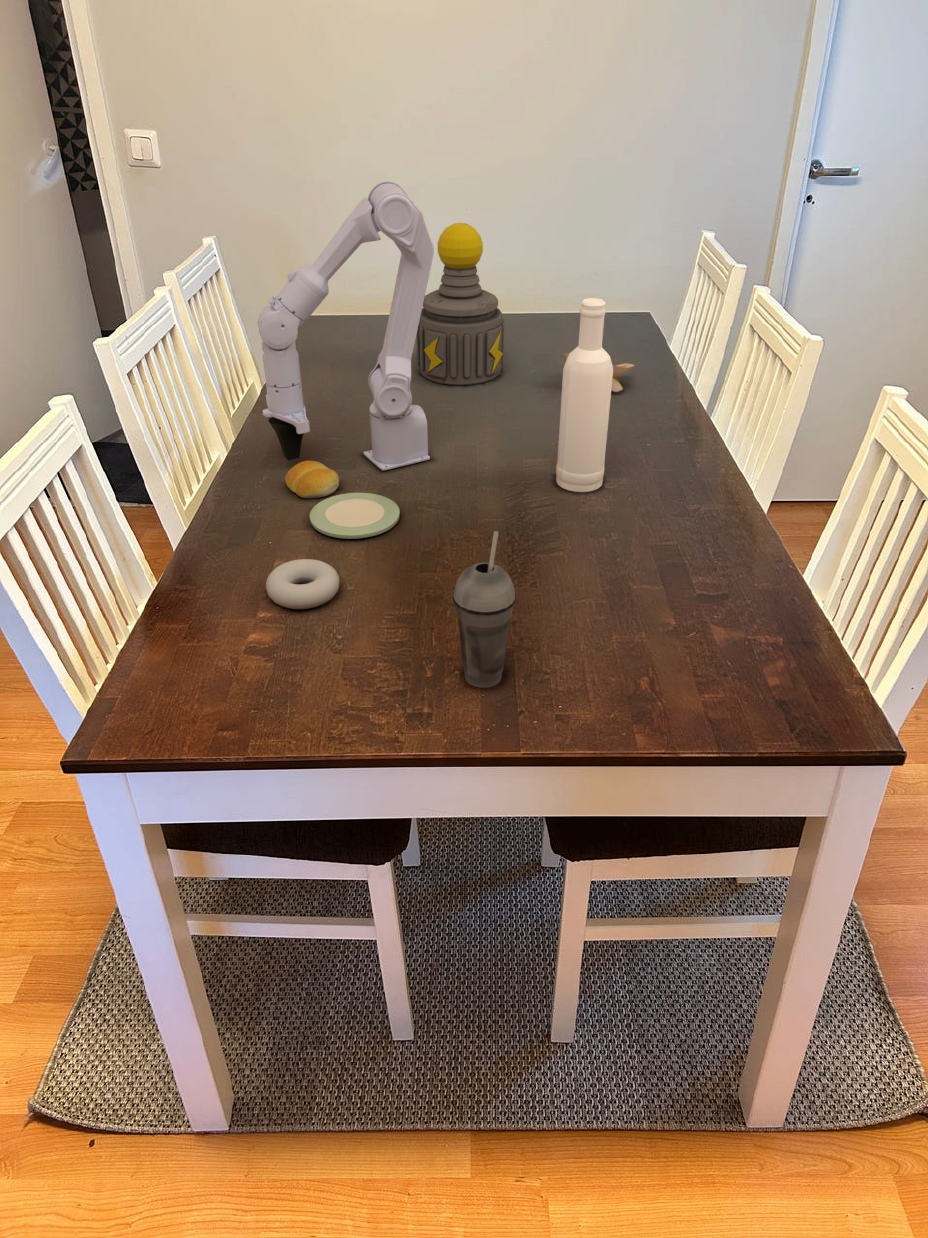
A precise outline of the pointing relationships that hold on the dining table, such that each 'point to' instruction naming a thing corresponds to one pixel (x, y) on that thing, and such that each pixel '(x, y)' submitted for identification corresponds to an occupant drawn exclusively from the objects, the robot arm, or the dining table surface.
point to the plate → (354, 515)
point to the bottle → (585, 405)
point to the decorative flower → (614, 373)
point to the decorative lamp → (460, 317)
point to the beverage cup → (484, 619)
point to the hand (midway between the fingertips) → (292, 458)
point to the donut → (302, 596)
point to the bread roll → (312, 480)
